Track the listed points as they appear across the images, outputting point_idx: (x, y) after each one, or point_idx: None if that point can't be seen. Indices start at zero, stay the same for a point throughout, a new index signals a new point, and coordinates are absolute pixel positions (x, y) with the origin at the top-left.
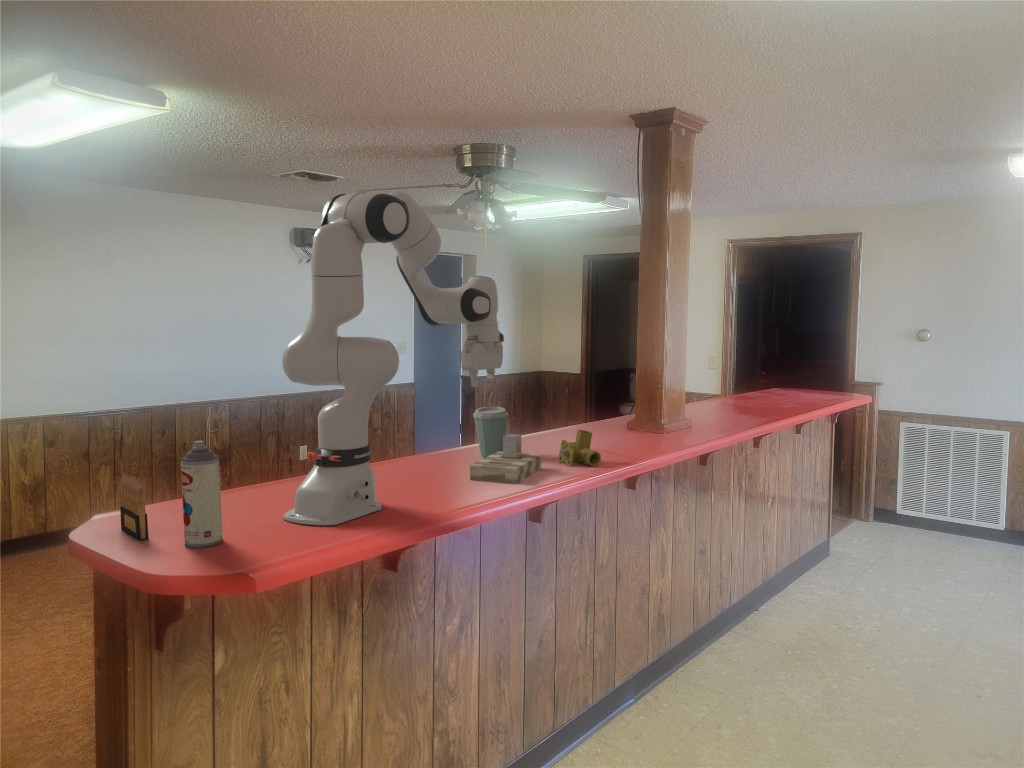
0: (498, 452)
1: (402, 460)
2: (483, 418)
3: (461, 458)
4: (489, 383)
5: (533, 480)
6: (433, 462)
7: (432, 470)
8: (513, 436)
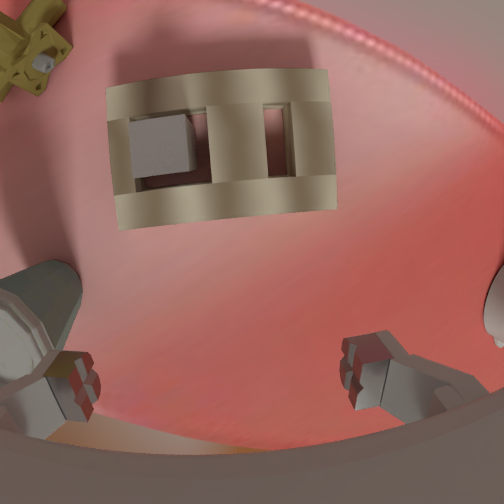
0: (133, 220)
1: (207, 431)
2: (52, 345)
3: (115, 344)
4: (88, 366)
5: (260, 54)
6: (189, 377)
7: (266, 337)
8: (175, 131)
